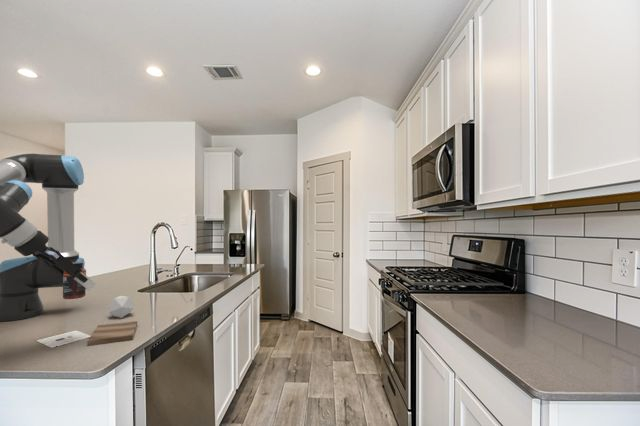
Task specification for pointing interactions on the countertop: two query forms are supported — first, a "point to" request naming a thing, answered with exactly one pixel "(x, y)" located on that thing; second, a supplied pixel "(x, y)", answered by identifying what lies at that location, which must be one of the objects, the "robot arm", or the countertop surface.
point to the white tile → (63, 339)
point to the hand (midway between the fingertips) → (87, 285)
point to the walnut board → (113, 333)
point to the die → (120, 306)
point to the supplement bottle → (73, 285)
